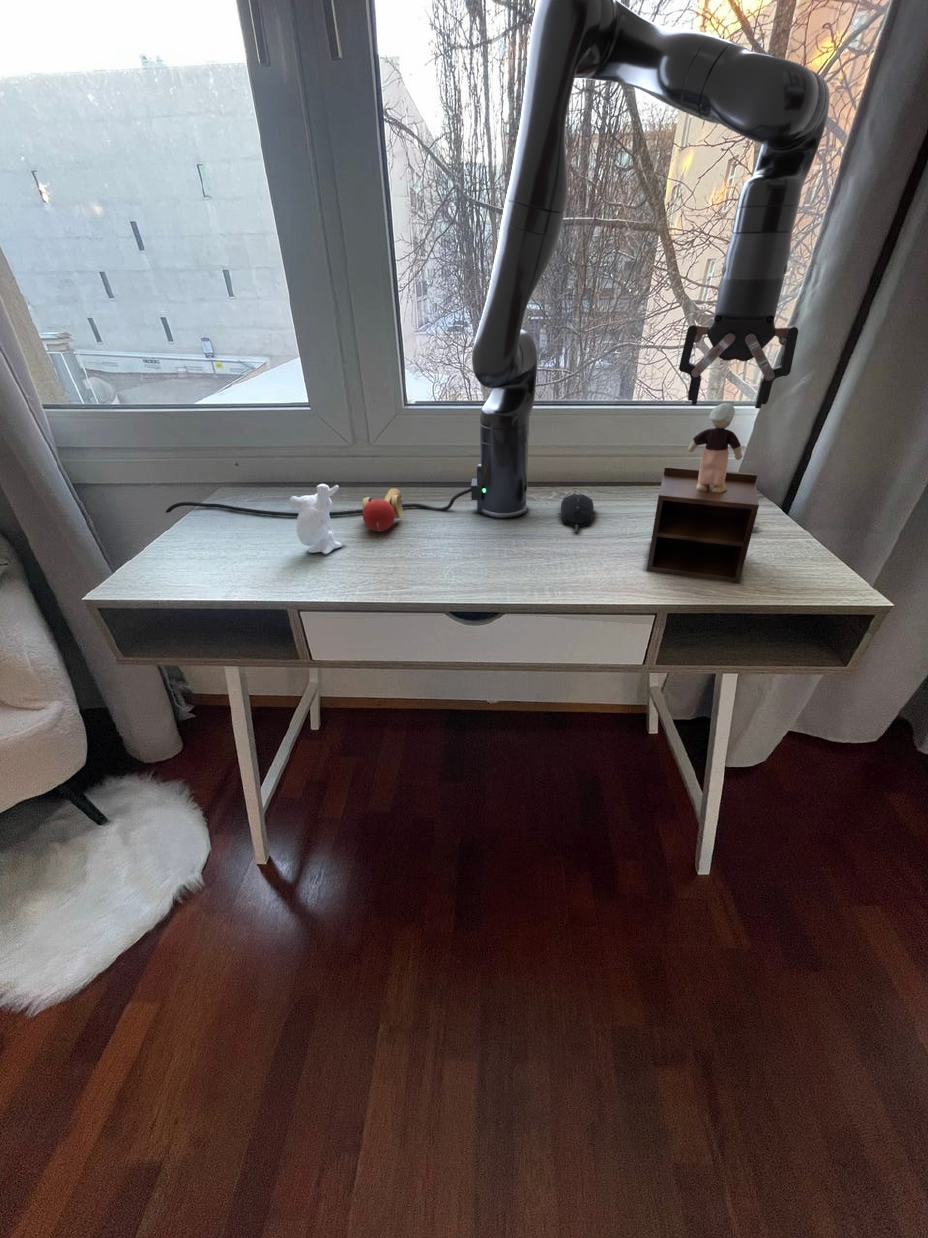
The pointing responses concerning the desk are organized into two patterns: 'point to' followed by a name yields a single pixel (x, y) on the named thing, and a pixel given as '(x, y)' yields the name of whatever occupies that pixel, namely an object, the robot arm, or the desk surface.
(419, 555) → the desk surface
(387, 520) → the kendama
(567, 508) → the gaming mouse
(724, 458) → the grandmother figurine
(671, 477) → the rack
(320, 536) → the white sculpted figure
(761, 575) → the desk surface
